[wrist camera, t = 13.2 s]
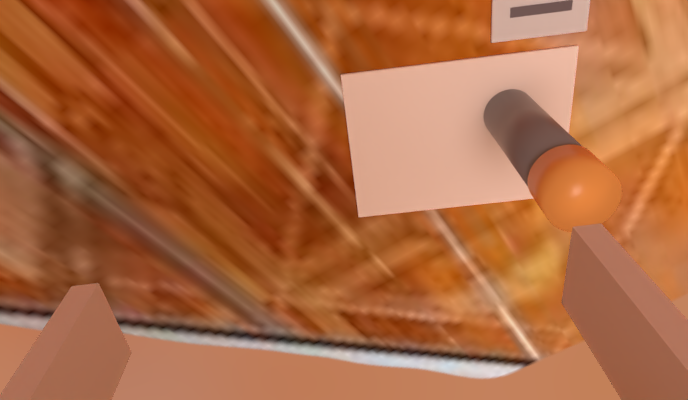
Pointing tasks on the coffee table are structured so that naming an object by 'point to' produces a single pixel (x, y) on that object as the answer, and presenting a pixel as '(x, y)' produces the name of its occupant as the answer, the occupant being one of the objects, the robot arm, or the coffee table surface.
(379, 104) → the paper
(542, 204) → the marker
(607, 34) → the coffee table surface
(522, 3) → the plate
